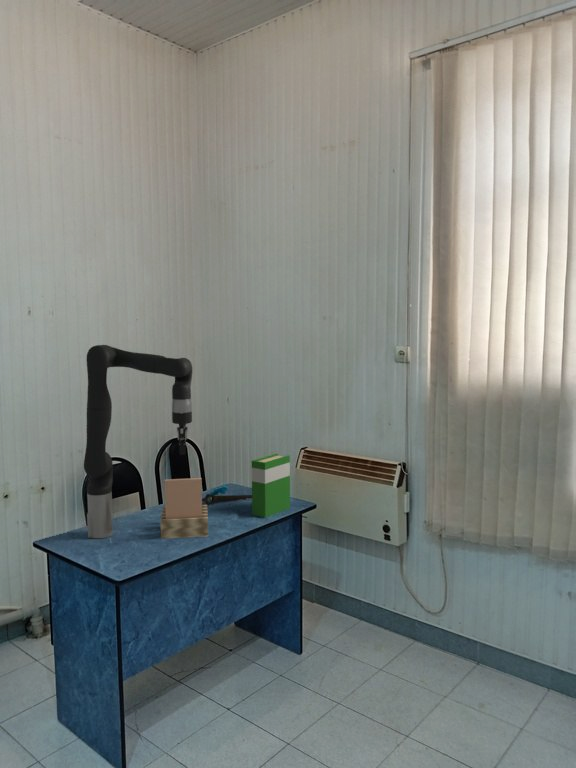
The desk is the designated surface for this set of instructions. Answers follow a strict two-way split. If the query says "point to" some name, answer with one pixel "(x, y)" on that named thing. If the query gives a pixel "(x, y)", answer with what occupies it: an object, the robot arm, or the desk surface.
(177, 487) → the tall sheet
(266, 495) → the hardback book
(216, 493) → the gear
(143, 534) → the desk surface
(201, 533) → the rack
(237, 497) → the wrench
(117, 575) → the desk surface
